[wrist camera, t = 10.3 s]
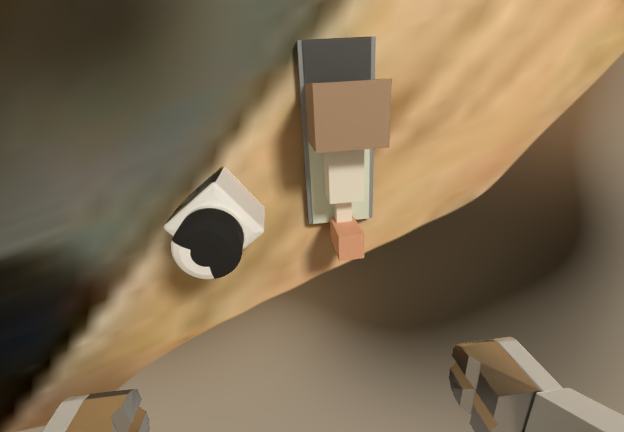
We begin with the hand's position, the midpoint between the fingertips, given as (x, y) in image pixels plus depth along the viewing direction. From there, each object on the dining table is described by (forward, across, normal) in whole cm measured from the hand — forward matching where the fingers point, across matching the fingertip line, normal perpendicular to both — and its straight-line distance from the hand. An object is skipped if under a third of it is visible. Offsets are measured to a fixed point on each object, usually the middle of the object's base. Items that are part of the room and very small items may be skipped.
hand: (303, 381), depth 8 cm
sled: (+30, -7, +5) cm, 31 cm away
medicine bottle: (+31, +7, +6) cm, 33 cm away
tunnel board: (+31, -7, -1) cm, 32 cm away
